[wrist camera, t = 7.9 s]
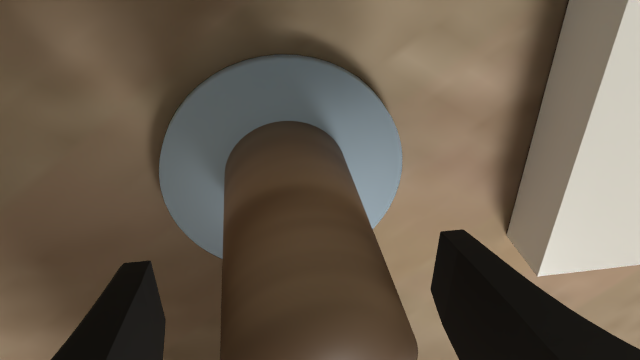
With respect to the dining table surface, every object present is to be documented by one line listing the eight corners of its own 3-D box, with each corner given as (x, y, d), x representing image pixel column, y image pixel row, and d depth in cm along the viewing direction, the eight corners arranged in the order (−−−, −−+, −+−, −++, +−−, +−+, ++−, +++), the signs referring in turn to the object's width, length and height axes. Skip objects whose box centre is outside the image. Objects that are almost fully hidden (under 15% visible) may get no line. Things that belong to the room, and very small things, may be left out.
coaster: (388, 247, 19) (392, 257, 19) (181, 268, 18) (180, 280, 18) (408, 48, 15) (414, 54, 14) (138, 61, 14) (134, 68, 13)
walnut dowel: (343, 219, 17) (406, 417, 11) (230, 228, 17) (228, 441, 10) (348, 117, 15) (430, 290, 9) (219, 124, 15) (209, 313, 8)
